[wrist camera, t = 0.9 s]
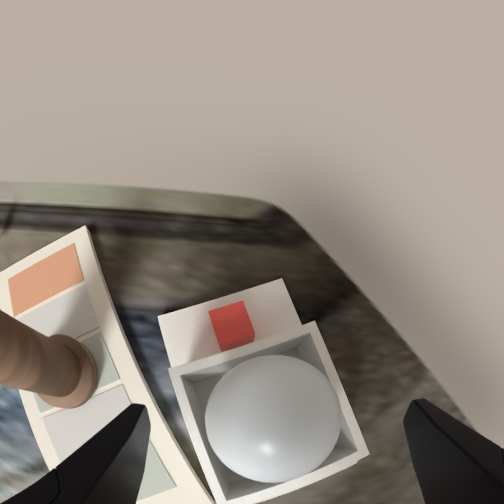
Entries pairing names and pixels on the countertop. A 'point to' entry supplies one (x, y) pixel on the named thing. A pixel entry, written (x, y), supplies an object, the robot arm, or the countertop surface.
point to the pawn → (46, 364)
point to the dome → (273, 418)
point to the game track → (107, 361)
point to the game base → (235, 352)
